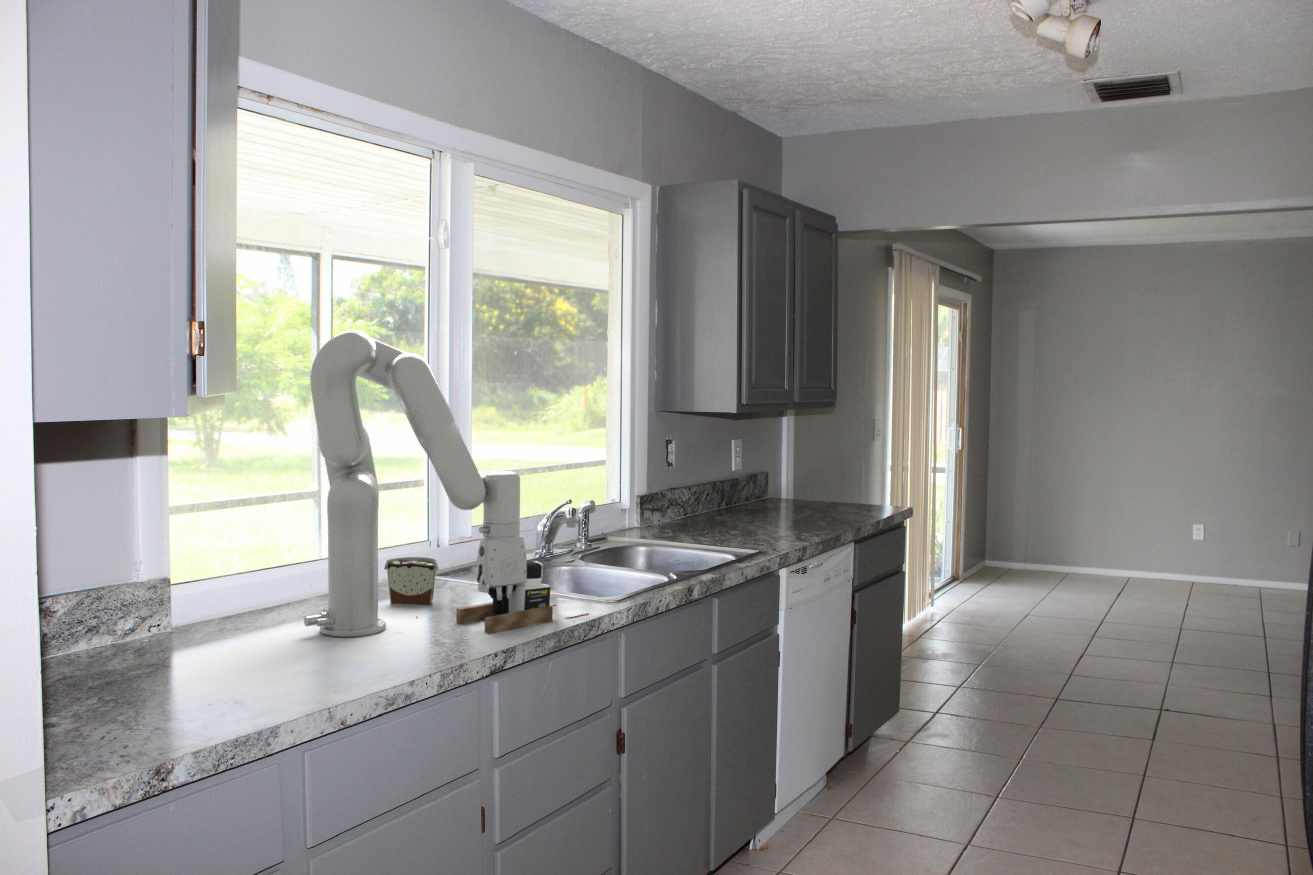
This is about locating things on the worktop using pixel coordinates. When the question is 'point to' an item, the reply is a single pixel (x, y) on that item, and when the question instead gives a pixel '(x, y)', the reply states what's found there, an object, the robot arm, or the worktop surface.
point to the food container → (411, 580)
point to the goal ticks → (569, 617)
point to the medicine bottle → (530, 590)
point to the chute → (503, 617)
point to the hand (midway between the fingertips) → (500, 617)
